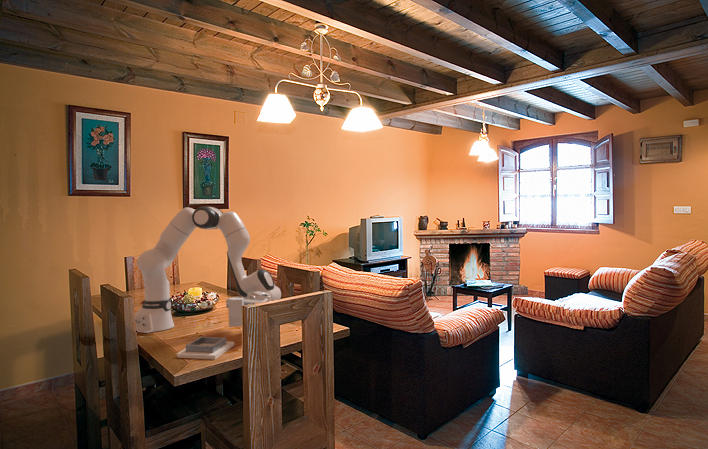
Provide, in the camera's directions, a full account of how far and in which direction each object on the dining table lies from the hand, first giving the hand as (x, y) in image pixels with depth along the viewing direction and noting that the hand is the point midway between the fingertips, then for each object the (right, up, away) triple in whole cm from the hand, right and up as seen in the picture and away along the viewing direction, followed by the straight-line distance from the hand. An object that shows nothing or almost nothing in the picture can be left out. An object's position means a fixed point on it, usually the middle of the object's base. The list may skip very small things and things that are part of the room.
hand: (234, 307), depth 185 cm
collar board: (-8, -16, -11) cm, 21 cm away
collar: (-8, -14, -11) cm, 20 cm away
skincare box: (0, -9, +1) cm, 9 cm away
